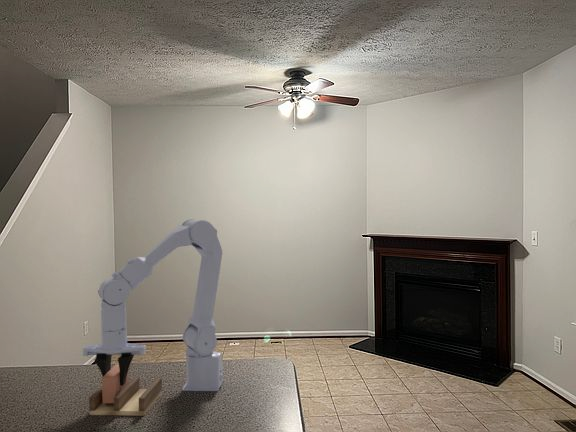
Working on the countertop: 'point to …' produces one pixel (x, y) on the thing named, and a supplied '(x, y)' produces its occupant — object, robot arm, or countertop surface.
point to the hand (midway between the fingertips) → (115, 384)
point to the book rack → (127, 400)
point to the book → (112, 384)
